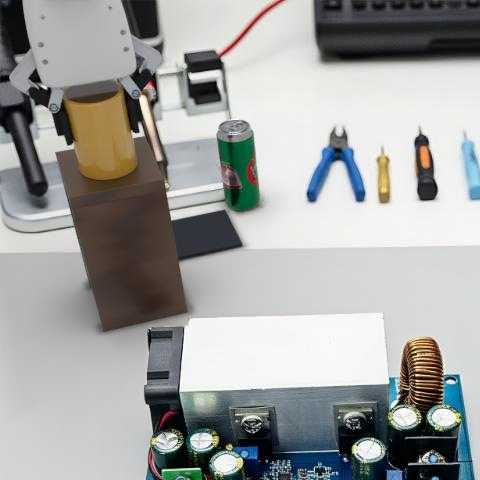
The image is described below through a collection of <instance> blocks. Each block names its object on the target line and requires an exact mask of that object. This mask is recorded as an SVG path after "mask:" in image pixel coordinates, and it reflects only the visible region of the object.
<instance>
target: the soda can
mask: <svg viewBox="0 0 480 480" xmlns="http://www.w3.org/2000/svg"><path fill="white" fill-rule="evenodd" d="M215 136H216V143H217V150H218V159H219V165H220V174H221V179H222V180H221V181H222V190H223V195H224V202H225V204H226V205H227V206H228V207H229V208H230V209H233V210H234V211H248V210H252V209H253V208H255V207H256V206H257V205H258V204H259V203H260V201H261V190H260V181H259V171H258V161H257V152H256V142H255V132H254V130H253V129H252V127H251V124H250V123H249V122H248V121H247V120H244V119H240V118H233V119H232V118H231V119H227V120H224V121H222V122H220V124H219V125H218V128H217V132H216V135H215Z"/></svg>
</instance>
